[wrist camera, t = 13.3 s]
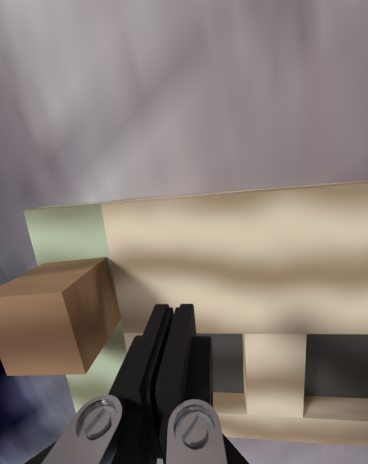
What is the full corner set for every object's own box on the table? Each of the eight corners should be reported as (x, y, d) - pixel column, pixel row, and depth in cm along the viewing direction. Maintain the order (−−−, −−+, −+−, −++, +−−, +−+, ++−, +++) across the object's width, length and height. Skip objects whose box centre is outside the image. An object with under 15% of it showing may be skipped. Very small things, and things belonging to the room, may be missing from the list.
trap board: (44, 206, 22) (23, 210, 19) (520, 167, 16) (574, 166, 14) (91, 404, 27) (79, 426, 25) (456, 424, 22) (486, 454, 20)
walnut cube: (44, 263, 20) (-24, 298, 14) (106, 256, 19) (61, 292, 14) (62, 321, 22) (7, 375, 16) (121, 318, 21) (85, 374, 15)
